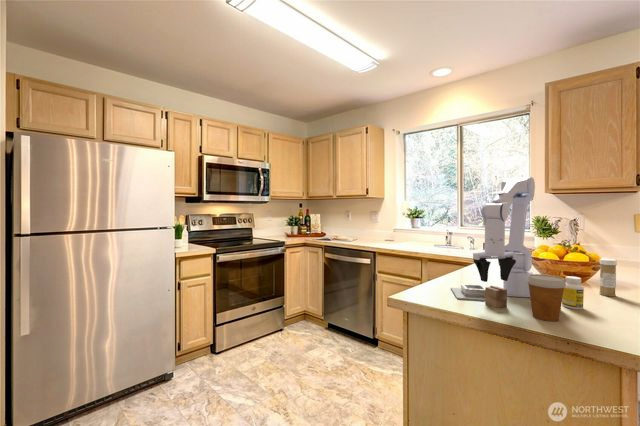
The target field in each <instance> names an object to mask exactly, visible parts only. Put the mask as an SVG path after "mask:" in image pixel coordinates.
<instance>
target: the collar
mask: <svg viewBox="0 0 640 426" xmlns="http://www.w3.org/2000/svg"><path fill="white" fill-rule="evenodd" d="M485 287H486V286H485V285H483V284H472V283H471V284H469V283H468V284H467V283H461V284H460V288H461V291H462V292H463V294H464V295H465V296H476V297H485Z"/></svg>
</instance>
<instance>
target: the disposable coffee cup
mask: <svg viewBox="0 0 640 426" xmlns="http://www.w3.org/2000/svg"><path fill="white" fill-rule="evenodd" d="M527 282H528V284H529V292H530V297H529V299H530V305H531V311H532V312H531V314H532V317H534V318H535V319H537V320H542V321H546V322H558V321H559V320H560V315H561V314H560V313H561V310H562V298H563V292H564V287H565V286H566V281H565V278H563V277H561V276H558V275H557V276H556V275H551V274H550V275H549V274H543V273H542V274H540V273H539V274H537V273H535V274H534V273H533V274H531V275H528V279H527ZM560 309H561V310H560Z"/></svg>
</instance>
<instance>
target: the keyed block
mask: <svg viewBox="0 0 640 426" xmlns="http://www.w3.org/2000/svg"><path fill="white" fill-rule="evenodd" d="M484 287H485V301H484V302H485V304H484V305H485V306H486V307H487V306H488V307H489V306H490V308H492V309H496V310H498V309H499V310H500V309H508V296H507V289H503V287H499V286H496V285H490V286H484Z"/></svg>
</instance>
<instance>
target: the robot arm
mask: <svg viewBox="0 0 640 426" xmlns="http://www.w3.org/2000/svg"><path fill="white" fill-rule="evenodd" d="M535 183H536V182H535V179H534V177H533V176H526V177H511V178H507V177H504V178H503V179H502V180H501V183H500V184H501V185H500V188H501V191H499V192H498V193H496V194H495V195H494V197H493V198H492V200H491V201H490V202H489V203H486V204H484V205H483V207H482V211H481V217H482V220H483V222H482V224H483V226H484V251H481V252H473V253H472V259H473V263H474V264H475V267H476V269H477V271H478V273H479V278H480V282H481V281H482V282H483V283H488V278H489V268H490V266H491V263H492V262H491V261H488V260H498V261H497V263H498V266H499V269H500V270H499V272H500V273H499V274H500V275H499V276H500V280H501V281H503V284H502V285H503V287H502V288H503V289H507V297H517V298H518V297H519V298H530V292H529V284H528V282H527V279H528V275H531V274H534V273H533V272H532V271H530V270H531V269H532V266H533V259H532V256H533V254H532V252H531V251H532V250H531V249H529V248H528V247H526V246H525V234H526V233H525V231H526V221H527V212H528V206H529V203H530V202H531V201H533V200H534V197H535V190H536V185H535ZM511 206H512V209H511V216H510V217H511V218H510V227H509V228H510V229H509V236H508V237H509V238H508V243H507V244H506V245H505V243H506V241H505V240H506V239H505V238H506V237H505V236H506V221H507V220H508V217H509V213H510V207H511Z"/></svg>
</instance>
